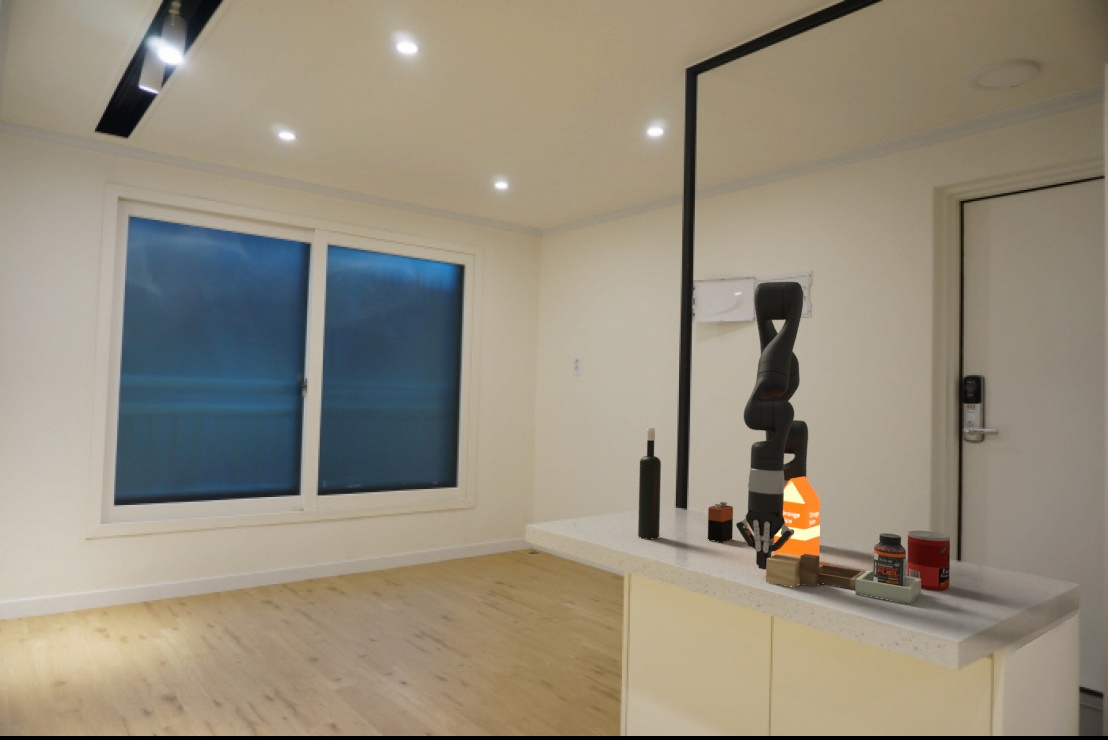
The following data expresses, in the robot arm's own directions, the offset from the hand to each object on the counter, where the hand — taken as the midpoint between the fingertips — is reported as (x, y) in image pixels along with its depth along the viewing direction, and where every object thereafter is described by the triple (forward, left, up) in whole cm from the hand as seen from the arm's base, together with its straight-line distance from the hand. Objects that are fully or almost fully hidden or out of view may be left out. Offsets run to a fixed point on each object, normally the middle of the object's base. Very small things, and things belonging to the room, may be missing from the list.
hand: (763, 568), depth 154 cm
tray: (-4, +25, -2) cm, 25 cm away
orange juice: (-20, +1, -2) cm, 20 cm away
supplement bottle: (-4, +25, -1) cm, 25 cm away
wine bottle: (-18, -39, -2) cm, 44 cm away
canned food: (-17, +30, -2) cm, 34 cm away
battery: (-29, -23, -2) cm, 38 cm away
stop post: (0, +10, -2) cm, 10 cm away
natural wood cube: (+1, +6, -2) cm, 6 cm away
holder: (-7, +14, -2) cm, 15 cm away
